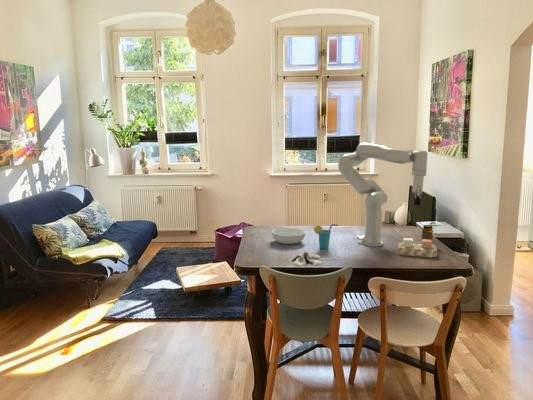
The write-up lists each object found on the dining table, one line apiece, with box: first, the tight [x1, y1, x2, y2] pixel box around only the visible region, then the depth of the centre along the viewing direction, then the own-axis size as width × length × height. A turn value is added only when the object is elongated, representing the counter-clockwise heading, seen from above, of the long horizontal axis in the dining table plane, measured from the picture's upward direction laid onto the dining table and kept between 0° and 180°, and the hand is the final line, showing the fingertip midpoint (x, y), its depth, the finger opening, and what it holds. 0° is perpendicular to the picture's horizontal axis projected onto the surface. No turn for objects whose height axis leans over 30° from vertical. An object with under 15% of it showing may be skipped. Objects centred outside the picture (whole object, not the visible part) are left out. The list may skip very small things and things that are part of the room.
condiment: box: [418, 224, 434, 245], centre depth 254 cm, size 7×8×12 cm
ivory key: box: [402, 237, 414, 247], centre depth 240 cm, size 5×5×6 cm
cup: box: [313, 223, 339, 251], centre depth 246 cm, size 14×8×15 cm, turn 97°
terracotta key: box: [421, 239, 433, 249], centre depth 237 cm, size 5×5×6 cm
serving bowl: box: [271, 227, 306, 245], centre depth 261 cm, size 21×21×7 cm
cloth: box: [287, 250, 323, 267], centre depth 226 cm, size 22×19×6 cm
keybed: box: [397, 241, 438, 259], centre depth 239 cm, size 20×12×4 cm, turn 74°
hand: (417, 204), depth 239 cm, fingers closed
